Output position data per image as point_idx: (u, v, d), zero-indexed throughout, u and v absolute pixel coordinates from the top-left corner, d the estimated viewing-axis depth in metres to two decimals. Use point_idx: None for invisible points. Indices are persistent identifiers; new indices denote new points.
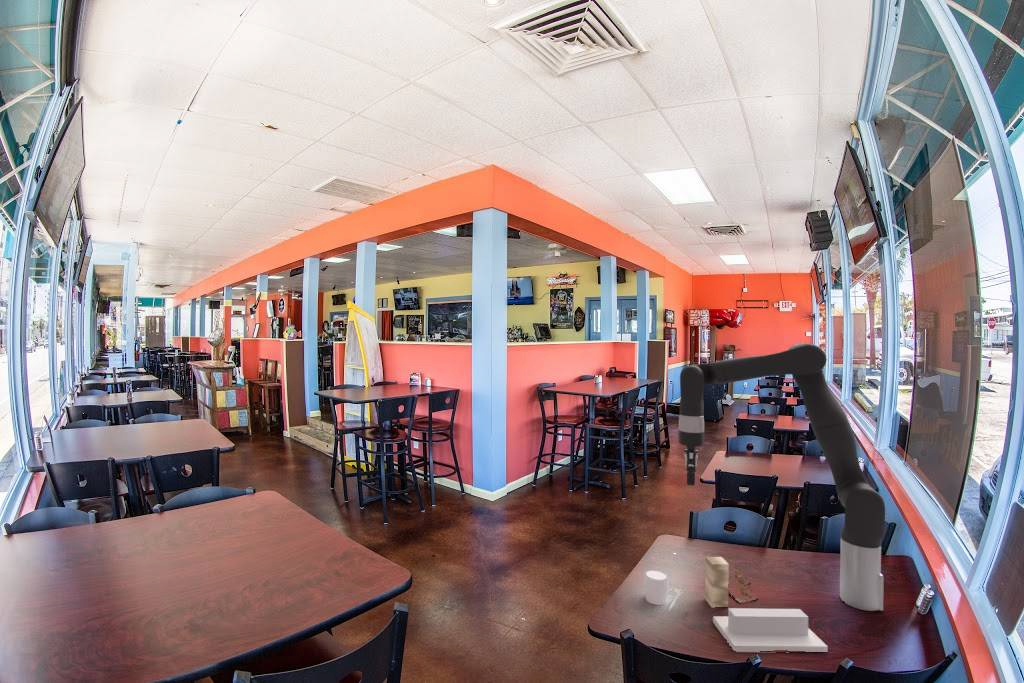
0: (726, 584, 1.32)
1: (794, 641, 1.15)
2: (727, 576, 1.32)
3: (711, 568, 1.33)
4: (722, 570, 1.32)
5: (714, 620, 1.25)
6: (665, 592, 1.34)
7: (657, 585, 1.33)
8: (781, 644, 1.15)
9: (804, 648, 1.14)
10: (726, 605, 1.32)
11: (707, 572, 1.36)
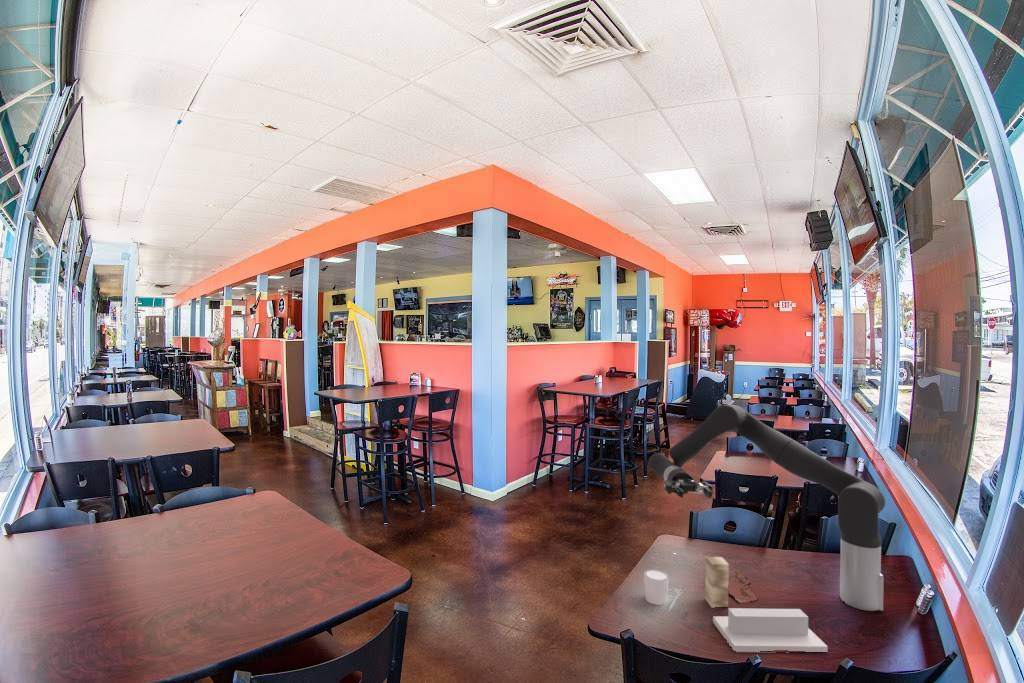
0: (726, 584, 1.32)
1: (794, 641, 1.15)
2: (727, 576, 1.32)
3: (711, 568, 1.33)
4: (722, 570, 1.32)
5: (714, 620, 1.25)
6: (665, 592, 1.34)
7: (657, 585, 1.33)
8: (781, 644, 1.15)
9: (804, 648, 1.14)
10: (726, 605, 1.32)
11: (707, 572, 1.36)
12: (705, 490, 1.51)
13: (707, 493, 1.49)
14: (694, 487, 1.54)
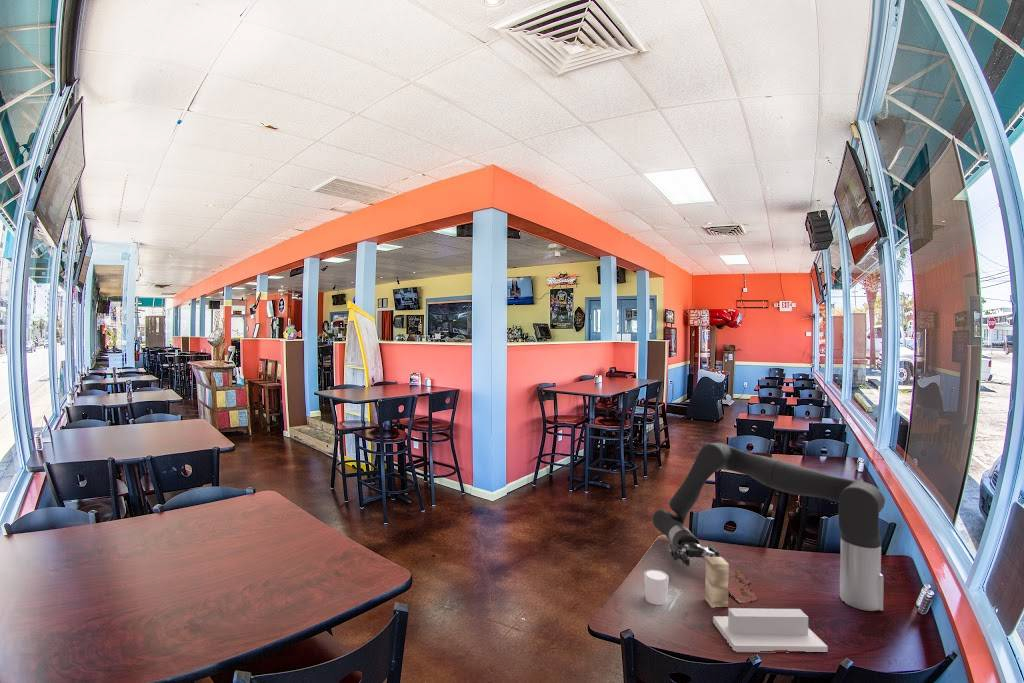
0: (726, 584, 1.32)
1: (794, 641, 1.15)
2: (727, 576, 1.32)
3: (711, 568, 1.33)
4: (722, 570, 1.32)
5: (714, 620, 1.25)
6: (665, 592, 1.34)
7: (657, 585, 1.33)
8: (781, 644, 1.15)
9: (804, 648, 1.14)
10: (726, 605, 1.32)
11: (707, 572, 1.36)
12: None
13: None
14: (700, 553, 1.51)
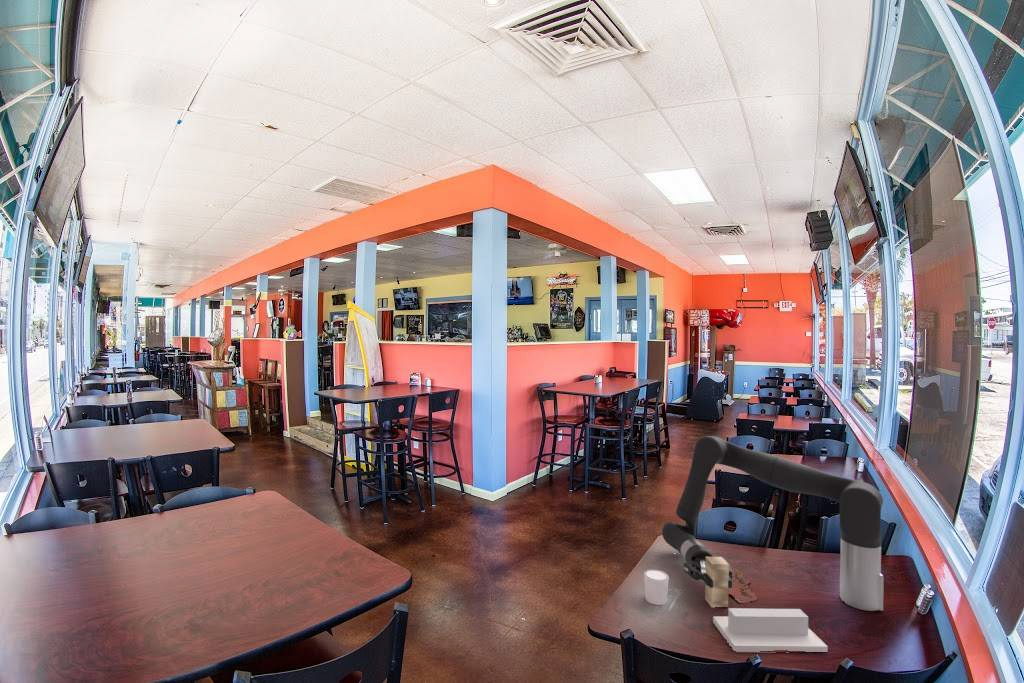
0: (726, 584, 1.32)
1: (794, 641, 1.15)
2: (727, 576, 1.32)
3: (711, 568, 1.33)
4: (722, 570, 1.32)
5: (714, 620, 1.25)
6: (665, 592, 1.34)
7: (657, 585, 1.33)
8: (781, 644, 1.15)
9: (804, 648, 1.14)
10: (726, 605, 1.33)
11: (707, 572, 1.36)
12: None
13: None
14: None
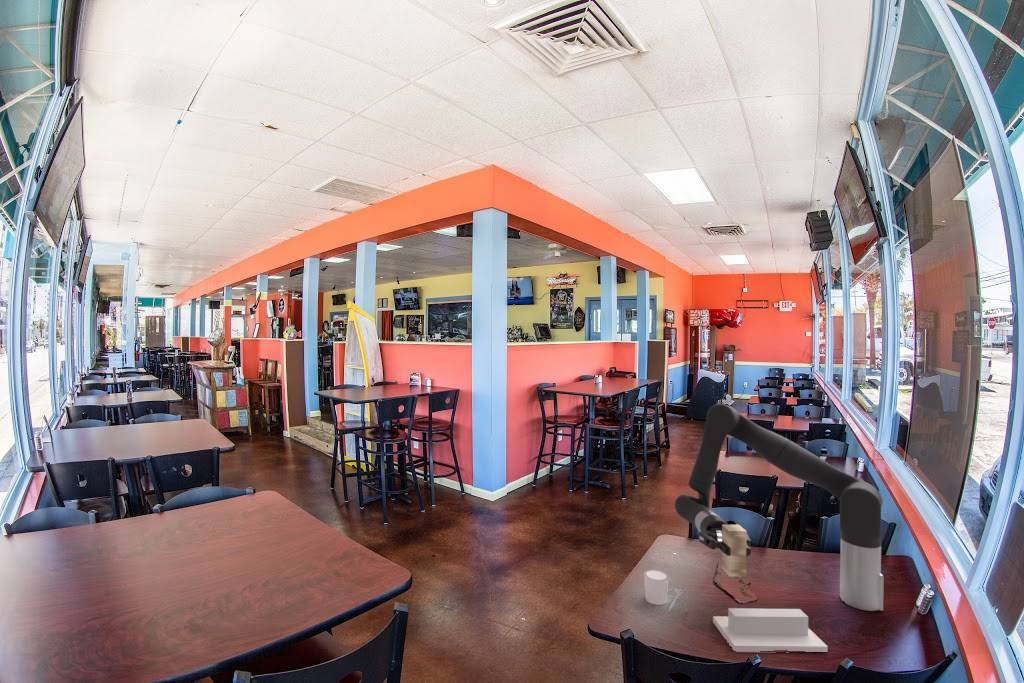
0: (744, 552, 1.27)
1: (794, 641, 1.15)
2: (745, 543, 1.27)
3: (728, 536, 1.28)
4: (740, 537, 1.27)
5: (714, 620, 1.25)
6: (665, 592, 1.34)
7: (657, 585, 1.33)
8: (781, 644, 1.15)
9: (804, 648, 1.14)
10: (744, 574, 1.27)
11: (724, 540, 1.30)
12: None
13: None
14: None
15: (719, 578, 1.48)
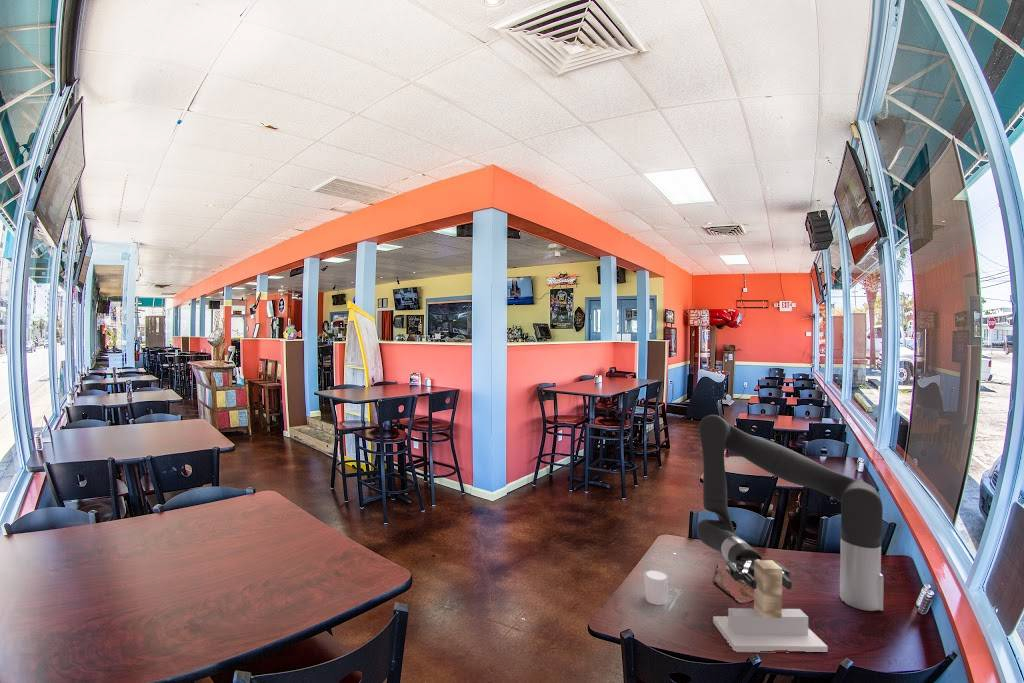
0: (779, 591, 1.17)
1: (794, 641, 1.15)
2: (780, 582, 1.17)
3: (762, 574, 1.18)
4: (775, 575, 1.17)
5: (714, 620, 1.25)
6: (665, 592, 1.34)
7: (657, 585, 1.33)
8: (781, 644, 1.15)
9: (804, 648, 1.14)
10: (779, 615, 1.17)
11: (757, 577, 1.21)
12: None
13: (785, 583, 1.19)
14: None
15: (719, 577, 1.48)
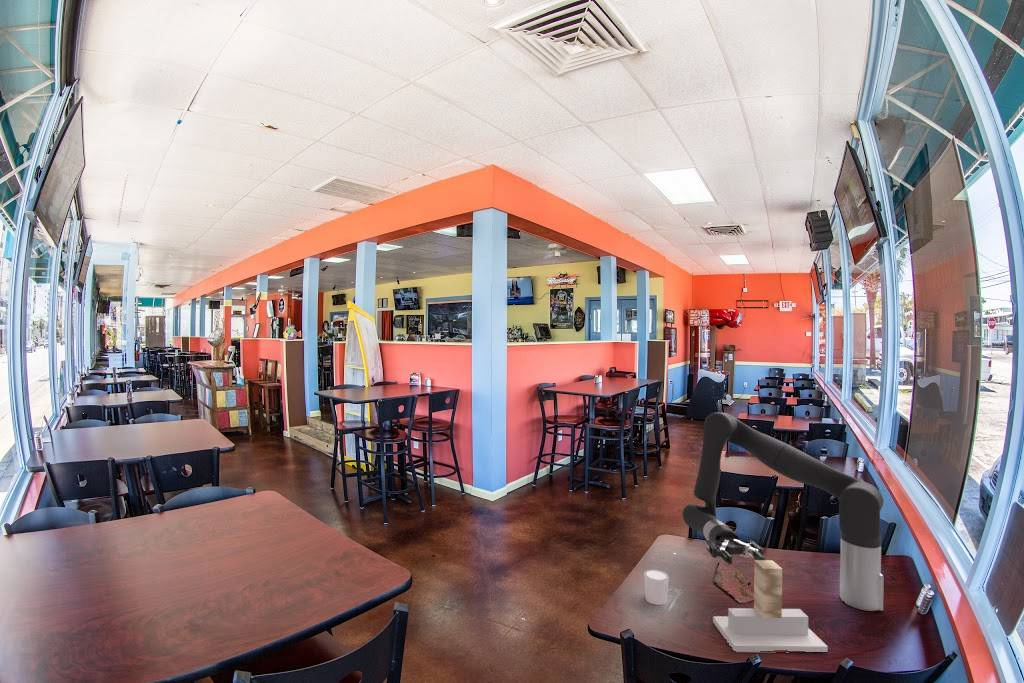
0: (779, 591, 1.17)
1: (794, 641, 1.15)
2: (780, 582, 1.17)
3: (762, 574, 1.18)
4: (775, 575, 1.17)
5: (714, 620, 1.25)
6: (665, 592, 1.34)
7: (657, 585, 1.33)
8: (781, 644, 1.15)
9: (804, 648, 1.14)
10: (779, 615, 1.17)
11: (757, 577, 1.21)
12: (755, 554, 1.33)
13: (758, 559, 1.32)
14: (742, 549, 1.37)
15: (719, 578, 1.48)
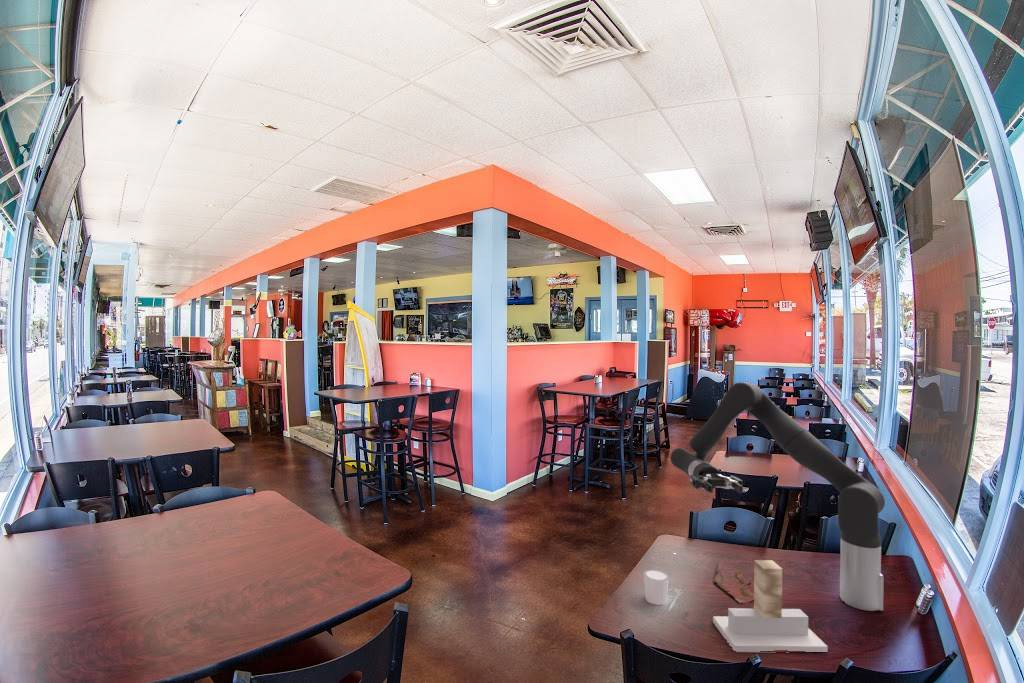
0: (779, 591, 1.17)
1: (794, 641, 1.15)
2: (780, 582, 1.17)
3: (762, 574, 1.18)
4: (775, 575, 1.17)
5: (714, 620, 1.25)
6: (665, 592, 1.34)
7: (657, 585, 1.33)
8: (781, 644, 1.15)
9: (804, 648, 1.14)
10: (779, 615, 1.17)
11: (757, 577, 1.21)
12: (735, 485, 1.43)
13: (737, 488, 1.42)
14: (723, 482, 1.47)
15: (719, 577, 1.48)
